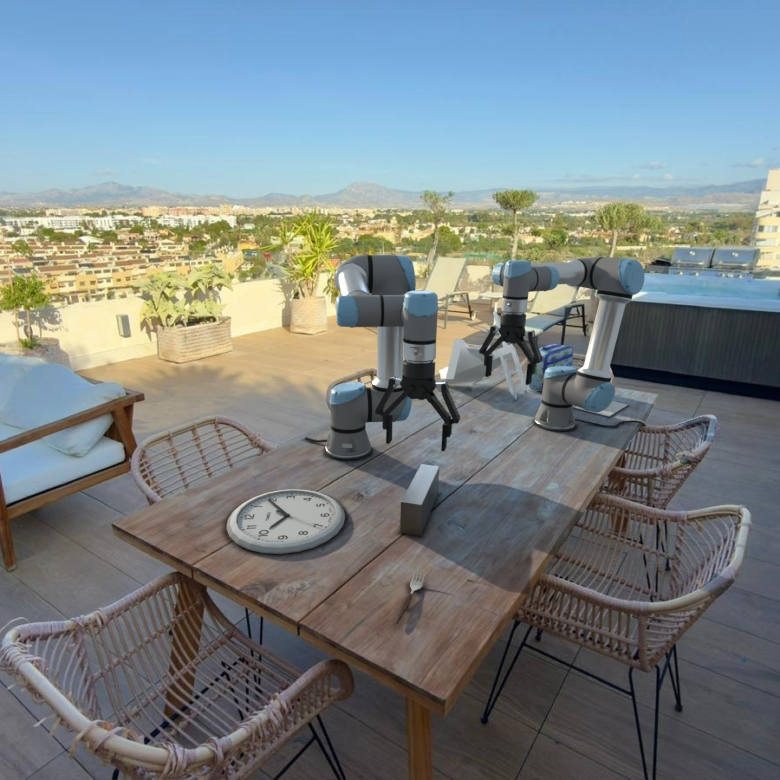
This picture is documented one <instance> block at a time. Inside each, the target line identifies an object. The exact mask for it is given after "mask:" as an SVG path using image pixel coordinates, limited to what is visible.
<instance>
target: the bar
mask: <svg viewBox="0 0 780 780" xmlns="http://www.w3.org/2000/svg"><path fill="white" fill-rule="evenodd" d="M439 484H440V466H438V465H431V464H423V463H421V464H420V466H419V467H418V469H417V471H416V473H415V475H414V476H413V478H412V480H411V482H410V484H409V486H408V488H407V490H406V491H405V493H404V495H403V497H402V499H401V500H400V521H399V522H400V524H399V528H400V529H399V534H404V535H405V534H406V535H410V536H417V537H421V536H422V533H423V531H424V529H425V526H426V524H427V522H428V519H429V517H430V514H431V512H432V510H433V507H434V505H435V503H436V500H437V498H438V495H439V486H440V485H439Z"/></svg>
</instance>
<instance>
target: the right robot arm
mask: <svg viewBox="0 0 780 780" xmlns="http://www.w3.org/2000/svg"><path fill="white" fill-rule="evenodd" d="M643 267H644V266H643V265H642V263H641V262H640V261H638V260H637V259H633V258H628V257H612V256H610V257H609V256H591V257H583V258H572V259H569V260H568V261H562V262H558V261H557V262H531V261H530V260H524V259H509V260H507V261H506V262H499V263H497V264H496V265H494V267H493V268H492V271H491V280H492V282H493V284H494V285H496V286H500V287H502V299H501V301H502V302H501V311H502V312H501V313H500V327H497V325H496V324H495V325H491V326H490V328H489V332H488V335H486V338H485V340H484V341H483V343H482V344H481V345H482V347H481V348H480V350H479V353H480V354H483V355H484V366H486V374H485V377H484V378H489V377H491V376H492V372H493V371H492V359H493V356H490V355H491V353H492V352H493V351H494V350H497V349H498V348H499V347H500V346H501V345H502V342H504V341H505V343H507V344H509V343H510V344H512V345H515V344H516V345H517V346H518V347H519V349H521V351H522V353H523V354H524V356H525V357H526V359H527V360H528V363H527V367H526V375H525V381H526V384H525V385H527V386H529V384H531V381H532V374H535V370H536V364H537V363H540V362H542V361H543V358H542V356H541V353H540V350H539V349H540V347H539V345H538V341H537V339H536V331H535V330H534V329H533V330H526V325H527V314H526V313H527V311H528V303H529V302H528V301H529V299H528V298H529V293H533V292H547V291H553V290H555V289H556V288H557V286H559V285H567V286H568V287H579V288H585V289H589V290H594V291H596V297H597V298H598V300H599V301H598V305H597V309H596V314H595V316H594V317H595V318H594V321H593V325H592V330H591V333H590V339H589V341H588V346H587V350H586V355H585V358H584V363H583V366H582V367H580V368H577V367H575V366H572V367H570V366H555V367H549V368H547V369H546V370H545V375H544V378H543V379H544V380H543V391H541V402H540V405H539V407H538V410H537V411H536V413H535V417H534V424H535V425H536V426H537V427H539V428H542V429H544V430H549V431H556V432H567V431H572V430H574V429H575V428H576V422H579V423H585V424H589V425H593V426H597V427H602V428H608V429H609V428H610V429H611V428H613V429H614V428H617V427H619V425H622V424H630V423H637V424H640V425H642V426H643V427H647V425H646V423H644V422H642V421H640V420H635V419H633V420H622V421H619V422H618V423H616V424H613V425H608V424H602V423H597V422H592V421H588V420H584V419H579V418H575V417H576V416H575V413H574V407H576V406H577V407H580V408H583V409H585V410H587V411H586V412H588V411H592V412H601V411H603V410H605V409H606V408H607V407H608V406H609V405H610V404H611V402H612V401H614V398H615V394H616V387H615V385H614V384H613V383H612V382H611V381H612V375H611V373H610V372H609V370H610V367H611V364H612V359H613V355H614V352H615V347H616V344H617V339H618V336H619V332H620V327H621V323H622V319H623V316H624V312H625V308H626V305H627V304H628V303H630V302H631V301H632V300H633V296H636V295H638V294H639V293H640V292H641V290H642V289H643V287H644V284H645V279H646V278H645V270H644V268H643ZM497 333H498V334H499V333H500V335H501V336H500V335H499V337H497V339H496V341H495V342H494V343H493V344H492V345H491V343H492V341H493V339H494V337H496V334H497ZM525 336H526V338H527V339H528V343H529V346H530V347H529V346H528V344H527V342H526V340H525V338H524V337H525ZM489 345H490V348H489V349H488V350H487V348H488V346H489ZM486 350H487V351H486ZM533 354H534V355H533ZM573 406H574V407H573ZM592 412H591V413H592Z"/></svg>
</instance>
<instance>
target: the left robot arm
mask: <svg viewBox="0 0 780 780" xmlns="http://www.w3.org/2000/svg"><path fill="white" fill-rule="evenodd" d="M415 272H416V271H415V267H414V263H413V260H412V259H411V257H410V256H408V255H403V254H402V255H401V254H358V255H354V256H351V257H349V258H348V259H345V260H344V261H342V262H341V263H340V264H339V265H338V267H337V268H336V270H335V272H334V277H333V278H334V279H333V280H334V285H335V288H336V289H337V291H338V292H339V293H340V295H338V296H336V299H335V318H336V324H337V326H339V327H342V328H344V327H345V328H351V329H353V328H377V329H376V331H377V334H376V336H377V337H376V377H375V378H374V379H373V380H372V382H371V386H368V387H367V386H366V384H365V383H364V382H362V381H348V382H347V381H346V382H343V383H340V384H337V385H335V386H334V387H333V388H332V389H331V390H330V394H329V395H330V397H329V405H330V430H329V435H328V437H327V439H313V438H310V437H308V436H307V437H306V436H305V437H304V440H306V441H309V442H313V443H325V453H326V455H327V456H329V457H330V458H333V459H336V460H341V461H353V460H359V459H363V458H366V457H367V456H369V455H370V454H371V451H372V446H371V442H370V439H369V436H368V433H367V430H366V423H382V425H381V426H382V429H383V430H385V432H386V433H385V444H386V445H390V443H392V441H393V423H395V422H403V421H406V420H407V419H408V418H409V416H410V414H411V410H412V404H413V400H418V401H425V400H426V401H427V402H428V403H429V404H430V405H431V406H432V407H433V409H434V411H436V412H437V414H438V415H439V417H440V418H441V419H442V421H443V424H442V426H441V427H442V430H441V448H440V449H441V450H440V451H441V452H445V451H446V450H447V446H448V445H447V444H448V438H451V436H452V434H453V425H454V424H456V425H457V424H459V423H460V420H461V416H460V413H459V411H458V408H457V406H456V404H455V402H454V399H453V397H452V395H451V393H450V391H449V390H450V389H449V385H448V382H447V381H444V382H443V381H442V382H437V381H436V379H435V378H436V361H435V359H436V357H437V333H438V331H437V330H438V314H439V313H438V312H439V301H438V300H439V296H438V294H437V293H436V292H434V291H429V290H416V287H417V286H416V285H417V283H416V282H417V281H416V273H415ZM435 389H437V390H438V392H439V393H441V396H442V399H443V401H444V403H445V406H446V408H447V409H446V408H445V406H443V404H442V402H441V401H440V400H439V398H437V397H438V396H437V394H436V393H435V392H434V390H435Z"/></svg>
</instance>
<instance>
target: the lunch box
mask: <svg viewBox="0 0 780 780" xmlns="http://www.w3.org/2000/svg"><path fill="white" fill-rule="evenodd" d="M539 350H540V353H541V356H542V358H543V361H542V362H540V363H537V364H536V370H535V374H532V381H531V384H529V385H528V387H529V388H528V389H530V390H534V391H539V392H542V391H543V380H544V379H543V378H544V375H545V370H546V369H547V368H549V367H555V366H570V367H573V358H574V349H573V346H571V345H565V344H558V343H553V344H548V345H546V346H542V347H539ZM533 355H534V354H533Z"/></svg>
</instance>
